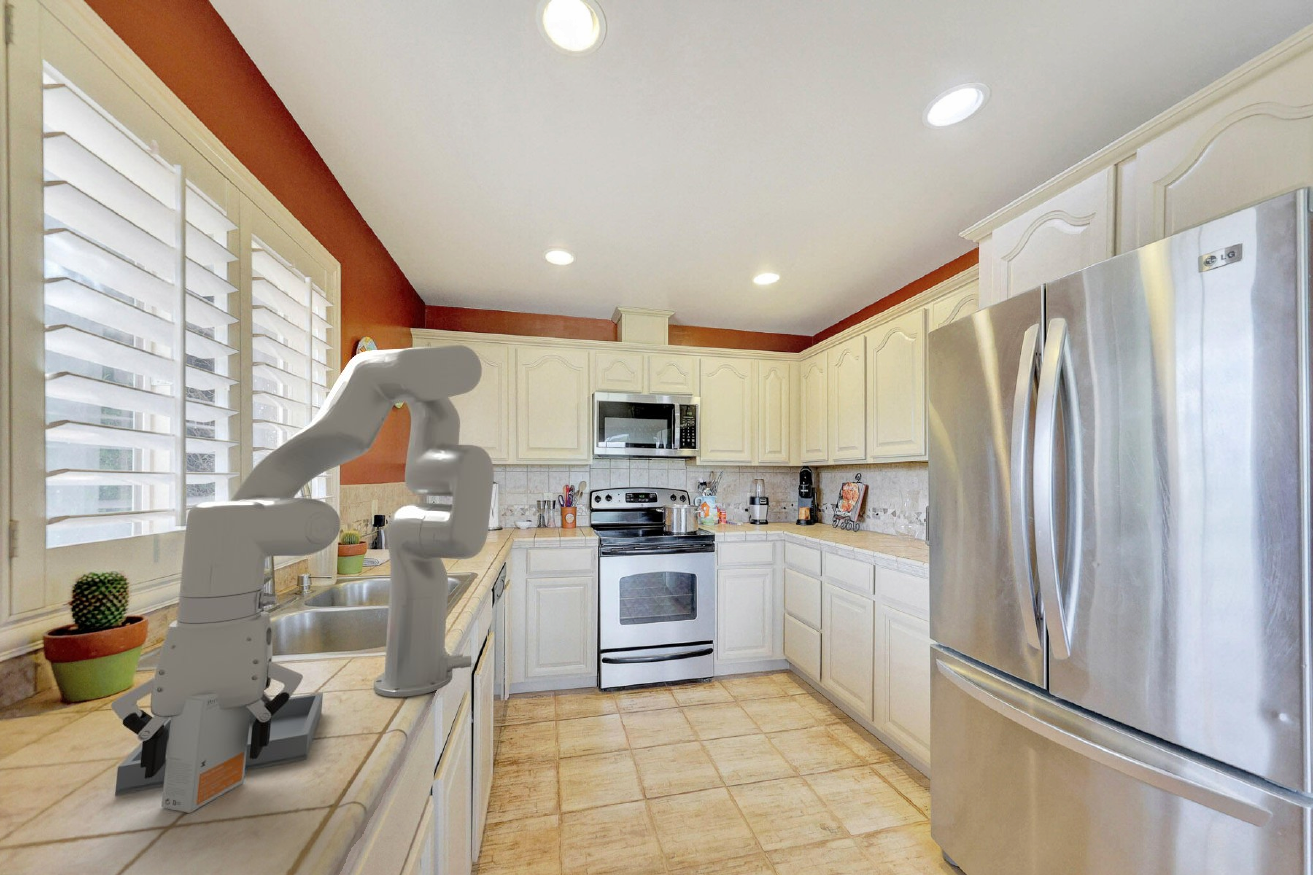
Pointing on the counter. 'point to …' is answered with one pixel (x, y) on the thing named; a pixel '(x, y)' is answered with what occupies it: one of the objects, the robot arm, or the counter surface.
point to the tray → (285, 744)
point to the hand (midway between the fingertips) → (207, 761)
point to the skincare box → (204, 753)
